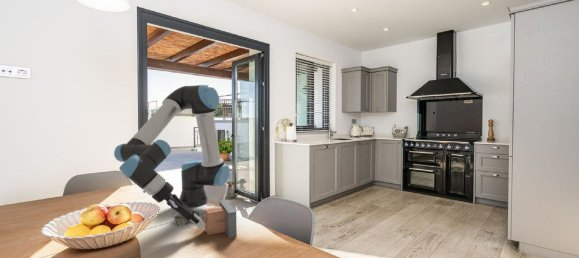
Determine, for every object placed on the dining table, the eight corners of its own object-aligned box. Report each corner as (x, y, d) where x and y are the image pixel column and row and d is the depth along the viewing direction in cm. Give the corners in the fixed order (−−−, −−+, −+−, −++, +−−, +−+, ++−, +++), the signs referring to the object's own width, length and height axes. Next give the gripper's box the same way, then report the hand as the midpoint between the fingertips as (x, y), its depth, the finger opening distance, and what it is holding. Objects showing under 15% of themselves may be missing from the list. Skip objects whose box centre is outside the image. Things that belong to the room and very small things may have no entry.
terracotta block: (205, 229, 114) (204, 208, 114) (221, 226, 118) (221, 206, 117) (207, 235, 109) (207, 213, 109) (225, 231, 112) (224, 210, 112)
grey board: (219, 222, 122) (219, 200, 122) (226, 221, 124) (226, 199, 123) (229, 238, 106) (228, 212, 106) (236, 236, 107) (236, 211, 107)
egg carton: (180, 226, 119) (180, 217, 118) (172, 222, 123) (171, 213, 123) (202, 219, 127) (201, 211, 127) (193, 216, 132) (193, 207, 131)
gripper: (151, 192, 108) (194, 228, 115) (150, 200, 96) (198, 240, 103) (166, 178, 110) (207, 214, 117) (167, 184, 98) (213, 224, 106)
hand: (203, 226), depth 110 cm, fingers closed
